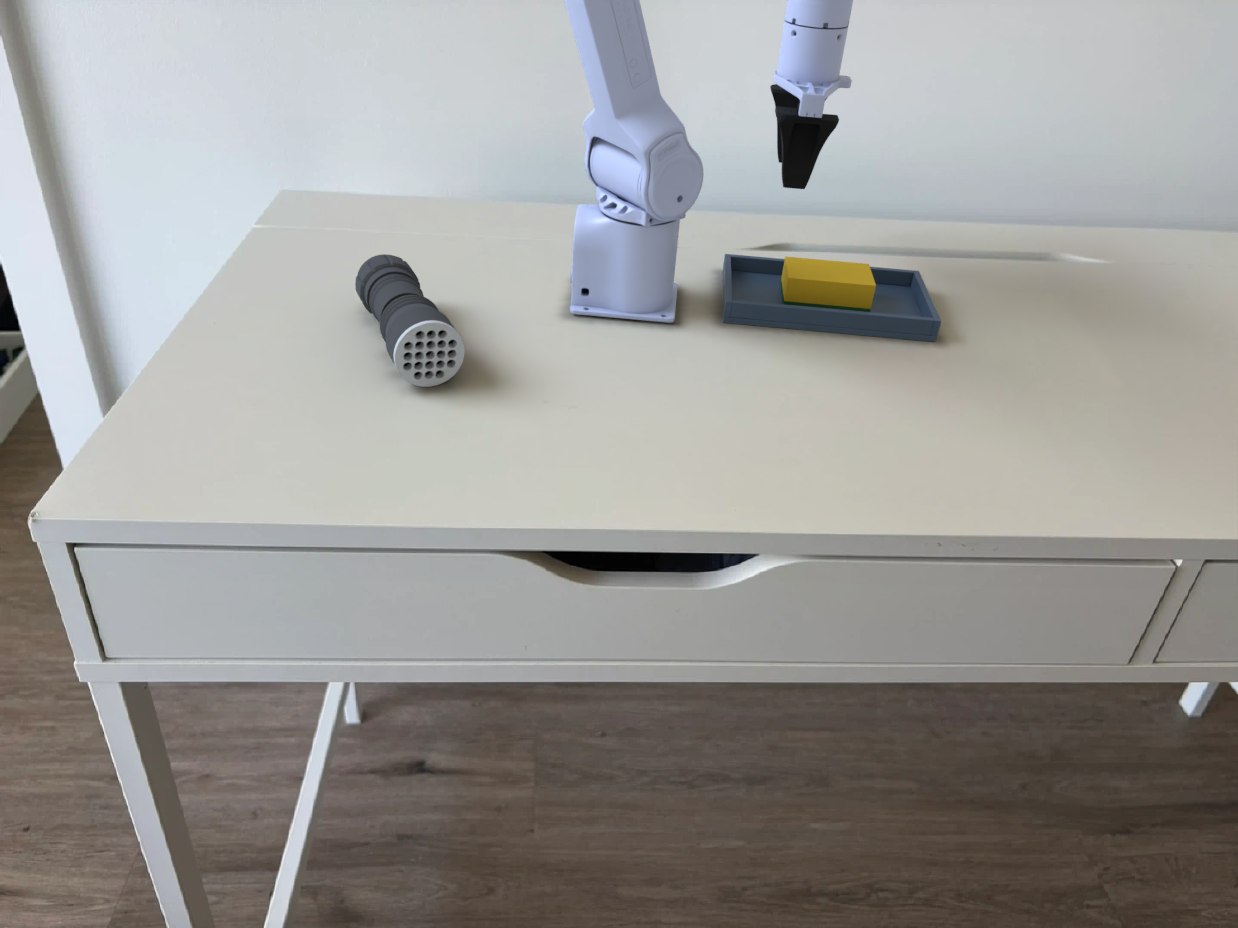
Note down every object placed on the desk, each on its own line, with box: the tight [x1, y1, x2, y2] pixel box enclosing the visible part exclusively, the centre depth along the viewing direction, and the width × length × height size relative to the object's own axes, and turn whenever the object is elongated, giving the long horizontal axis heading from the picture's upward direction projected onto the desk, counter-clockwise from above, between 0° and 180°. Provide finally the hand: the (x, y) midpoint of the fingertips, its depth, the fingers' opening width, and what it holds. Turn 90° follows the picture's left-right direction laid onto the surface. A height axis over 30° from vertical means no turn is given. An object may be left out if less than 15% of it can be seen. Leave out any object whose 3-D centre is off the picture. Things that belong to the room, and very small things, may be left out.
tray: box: [721, 253, 942, 343], centre depth 88 cm, size 19×11×2 cm, turn 85°
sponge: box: [780, 256, 876, 312], centre depth 87 cm, size 8×5×3 cm, turn 85°
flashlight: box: [355, 253, 465, 388], centre depth 76 cm, size 15×5×5 cm, turn 25°
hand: (791, 174), depth 91 cm, fingers open, 7 cm apart
